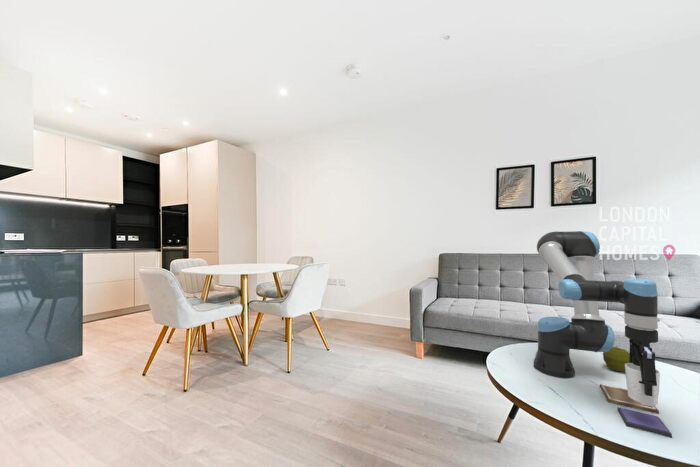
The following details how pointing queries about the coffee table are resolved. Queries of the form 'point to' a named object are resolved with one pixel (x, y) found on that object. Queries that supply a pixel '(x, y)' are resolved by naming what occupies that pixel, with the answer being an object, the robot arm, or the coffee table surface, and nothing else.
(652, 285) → the robot arm
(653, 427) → the ink pad
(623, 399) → the brown square coaster
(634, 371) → the white cup
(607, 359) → the apple
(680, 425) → the coffee table surface
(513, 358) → the coffee table surface
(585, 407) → the coffee table surface
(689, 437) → the coffee table surface
